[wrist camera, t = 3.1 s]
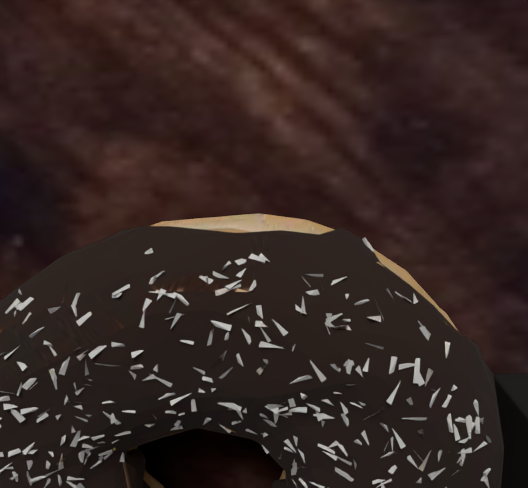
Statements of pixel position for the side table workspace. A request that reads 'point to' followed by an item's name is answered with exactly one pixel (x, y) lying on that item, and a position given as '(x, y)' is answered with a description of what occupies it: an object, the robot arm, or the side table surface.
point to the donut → (241, 361)
